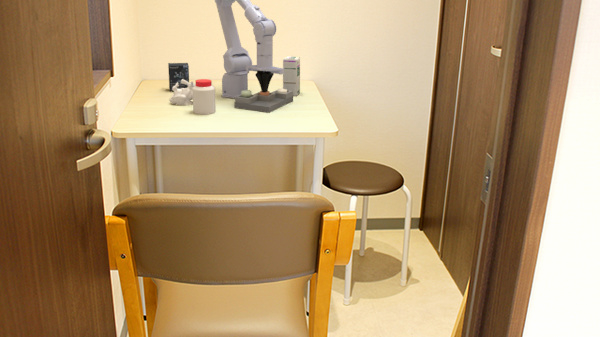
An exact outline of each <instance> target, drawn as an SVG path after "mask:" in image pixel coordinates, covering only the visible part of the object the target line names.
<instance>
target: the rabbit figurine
mask: <svg viewBox="0 0 600 337" xmlns="http://www.w3.org/2000/svg"><path fill="white" fill-rule="evenodd" d="M181 83H182V84H186V85H188V87H187V88H181V89H178V88H177V87H178V86H179V84H178V82H177V83H176V85H175V86H173V88H172V90H173V91H172V92H173V94H172V95H171V97H170V98H169V100H168V101H169V103H171V104H173V105H176V104H177V106H189V105H193V91H192V88H193V87H194V86H195V85H196V82H194V81H189V82H187V81H186V80H183V79H182V80H181Z"/></svg>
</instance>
